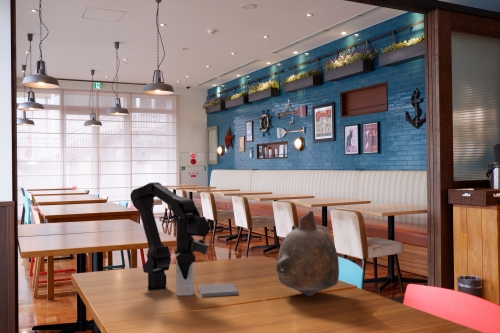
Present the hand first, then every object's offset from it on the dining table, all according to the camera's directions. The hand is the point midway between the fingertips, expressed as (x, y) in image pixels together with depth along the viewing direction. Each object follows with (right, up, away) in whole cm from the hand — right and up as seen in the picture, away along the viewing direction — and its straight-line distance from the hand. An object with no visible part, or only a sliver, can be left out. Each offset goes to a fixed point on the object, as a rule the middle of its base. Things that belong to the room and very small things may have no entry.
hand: (184, 277), depth 177 cm
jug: (+44, -6, -5) cm, 44 cm away
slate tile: (+12, -6, +3) cm, 13 cm away
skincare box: (0, -6, 0) cm, 6 cm away
